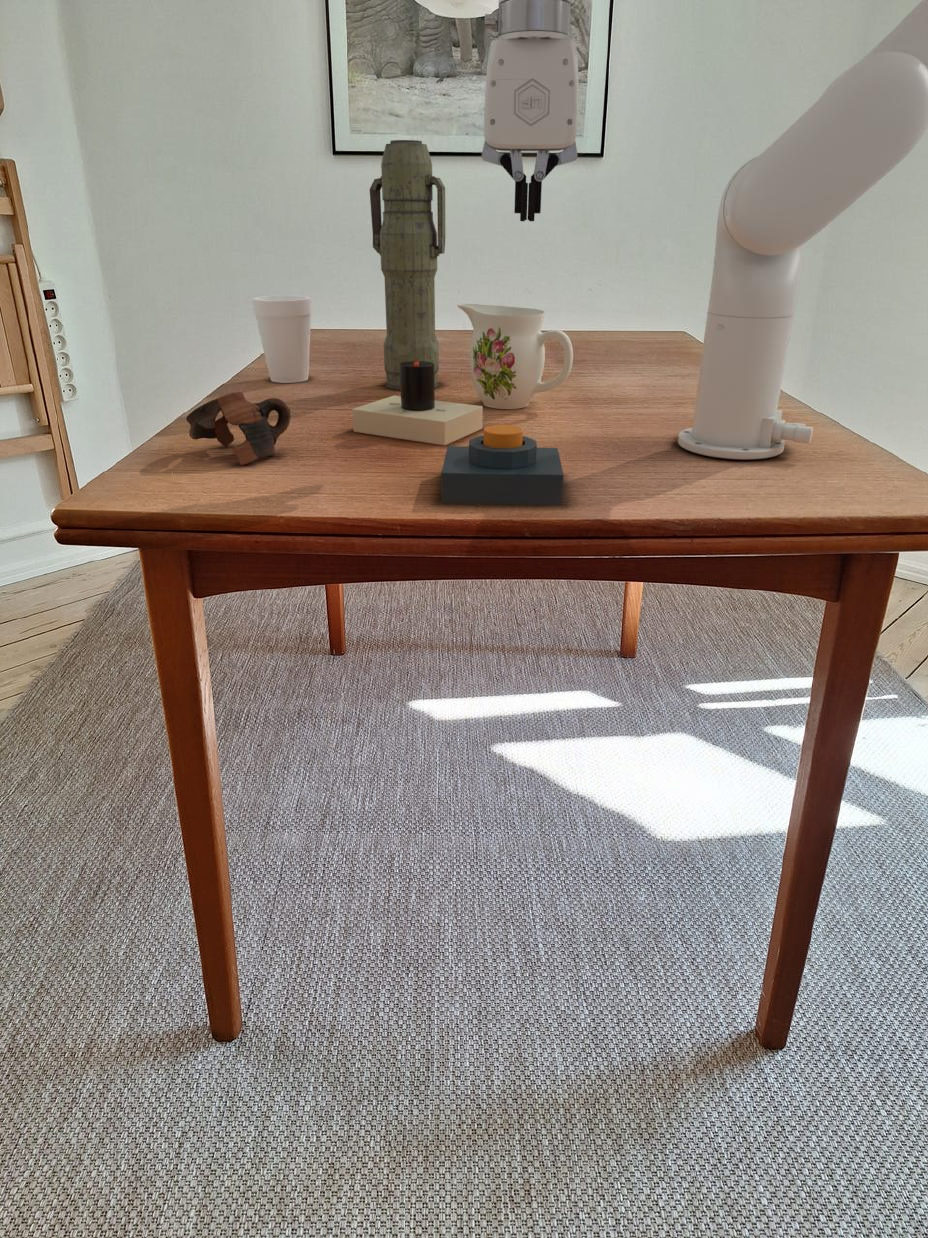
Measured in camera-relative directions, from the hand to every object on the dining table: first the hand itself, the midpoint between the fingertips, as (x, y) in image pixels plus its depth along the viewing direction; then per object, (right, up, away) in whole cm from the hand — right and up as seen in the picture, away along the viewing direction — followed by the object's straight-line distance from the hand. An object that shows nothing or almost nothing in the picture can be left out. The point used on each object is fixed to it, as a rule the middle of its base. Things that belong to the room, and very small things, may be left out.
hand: (527, 220), depth 94 cm
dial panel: (-13, -21, +14) cm, 29 cm away
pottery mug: (-34, -26, +4) cm, 43 cm away
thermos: (-16, -8, +41) cm, 44 cm away
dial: (-13, -18, +13) cm, 26 cm away
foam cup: (-37, -5, +45) cm, 59 cm away
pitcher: (0, -14, +28) cm, 31 cm away
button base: (-3, -32, -8) cm, 34 cm away
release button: (-3, -28, -10) cm, 30 cm away
